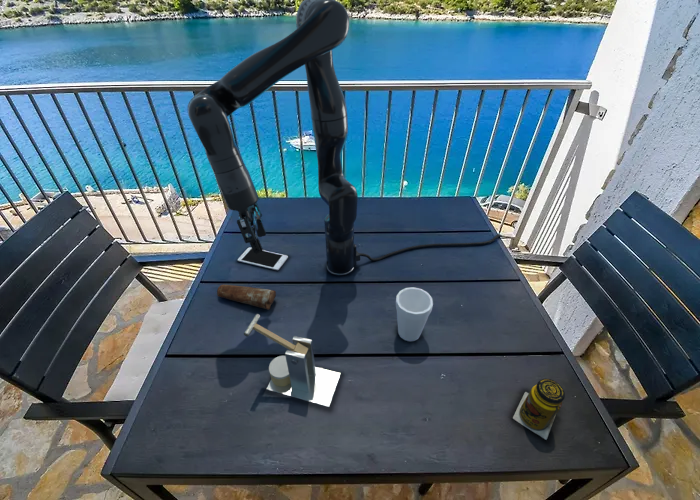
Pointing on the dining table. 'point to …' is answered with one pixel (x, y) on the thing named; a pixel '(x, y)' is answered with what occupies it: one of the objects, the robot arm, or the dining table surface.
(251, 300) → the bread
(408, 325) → the foam cup
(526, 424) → the condiment
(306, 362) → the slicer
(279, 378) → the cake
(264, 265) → the cell phone
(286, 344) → the wood and metal t-shape
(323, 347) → the dining table surface
